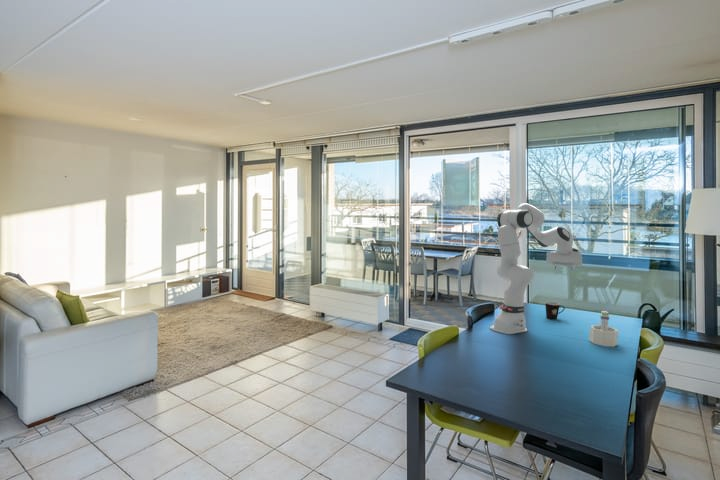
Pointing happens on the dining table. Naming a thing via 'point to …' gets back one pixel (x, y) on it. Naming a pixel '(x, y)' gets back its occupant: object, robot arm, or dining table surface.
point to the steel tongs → (604, 320)
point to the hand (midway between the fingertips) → (563, 269)
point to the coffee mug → (552, 310)
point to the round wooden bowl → (603, 336)
